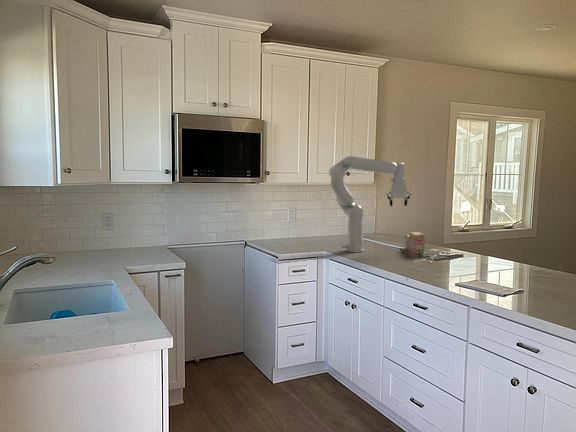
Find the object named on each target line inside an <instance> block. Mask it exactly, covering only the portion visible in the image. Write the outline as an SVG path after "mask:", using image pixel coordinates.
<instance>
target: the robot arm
mask: <svg viewBox="0 0 576 432" xmlns="http://www.w3.org/2000/svg"><path fill="white" fill-rule="evenodd" d="M405 166H406V164H405V163H404V162H392V161H386V160H381V159H380V160H378V159H372V158H367V157H361V156H360V157H359V156H352V155H350V156H346V157H344V158H343V159H342V160H341V159H340V161H338V162H337V163H336V164H334V165H333V166H331V167H330V169H329V171H328V173H329V176H330V185H331V189H332V190H333V192H334V194H335V195H336V197H335V199H336V202H337V203H338V206H340V208H341V210H342V212H344V213H345V215H346V216H347V217H349V218H348V223H347V224H348V227H347V228H348V230H347V233H348V235H347V236H348V243H347V244H342V245H341V249H345V251H346V252H349V253H362V252H366V249H365V248H364V247H363V243H364V242H363V233H364V232H363V229H364V227H363V225H364V224H363V221H364V213H365V212H364V209H363V207H362V205H359V204H356V203H355V201H354V195H353V194H352V193H351V191H350V190H349V188H348V187H347V186H346V184H345V181H344V177H345V175H346V172H348V171H349V170H356V171H363V172H368V173H369V172H370V173H371V172H372V173H373V172H375V173H376V172H377V173H384V174H390V175H391V174H392V177H393V178H392V179H391V180H390V182H392V183H391V187H390V191H388V192H386V193H385V196H386V198H387V199H388V200H389V205H390V207H393V199H398V198H401V199H402V198H404V200H403V201H404V203H403V204H404V205H403V206H405V207H406V206H407V205H408V200H409V199H410V198H411V196H412V193H411V192H409V191H408V190H407V183H406V182H405V181H406V180H405V177H406V175H405V174H406V169H405V168H406V167H405Z"/></svg>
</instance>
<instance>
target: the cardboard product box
mask: <svg viewBox="0 0 576 432" xmlns="http://www.w3.org/2000/svg"><path fill="white" fill-rule="evenodd" d="M404 236H405V248H407V249H408V250H410V251H411V252H413V253H414V254H423V253H424V251H425V245H426V244H425V243H426V241H425V239H426V238H425V237H426V234H424V233H422V232H419V231H418V232H417V231H414V232H413V231H409V234H405V235H404Z"/></svg>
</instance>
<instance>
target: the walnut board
mask: <svg viewBox="0 0 576 432" xmlns="http://www.w3.org/2000/svg"><path fill="white" fill-rule="evenodd" d="M400 251H402V252H404V253H405V254H407V255H408V256H410V257H411V258H423V257H422V256H424V255H425V254H414V253H413V252H411V251H410V250H408V249H407V248H406V247H400Z"/></svg>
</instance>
